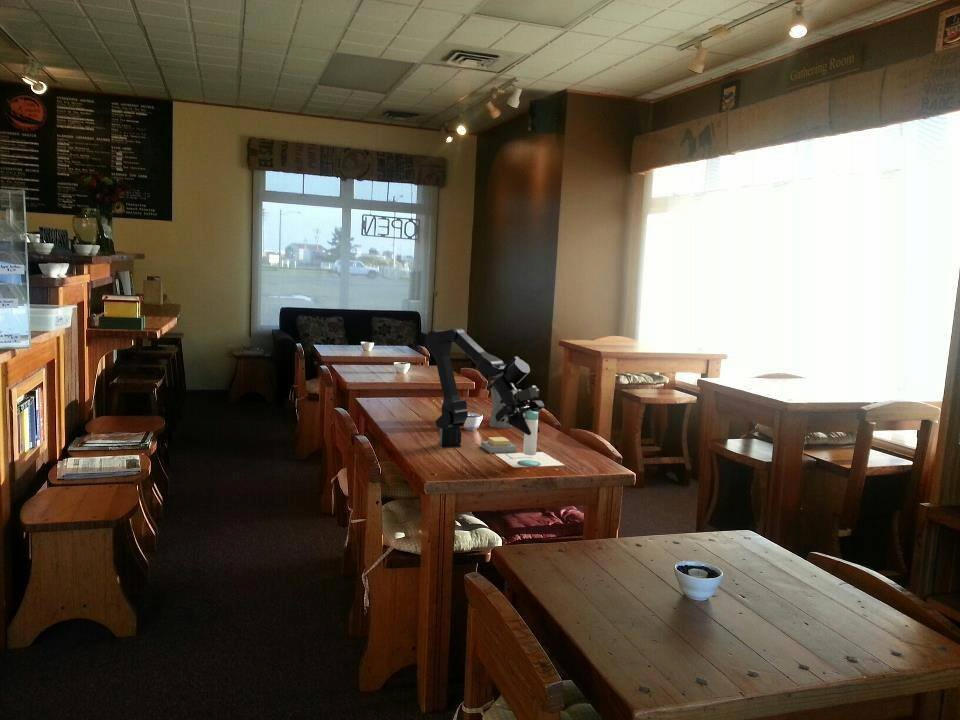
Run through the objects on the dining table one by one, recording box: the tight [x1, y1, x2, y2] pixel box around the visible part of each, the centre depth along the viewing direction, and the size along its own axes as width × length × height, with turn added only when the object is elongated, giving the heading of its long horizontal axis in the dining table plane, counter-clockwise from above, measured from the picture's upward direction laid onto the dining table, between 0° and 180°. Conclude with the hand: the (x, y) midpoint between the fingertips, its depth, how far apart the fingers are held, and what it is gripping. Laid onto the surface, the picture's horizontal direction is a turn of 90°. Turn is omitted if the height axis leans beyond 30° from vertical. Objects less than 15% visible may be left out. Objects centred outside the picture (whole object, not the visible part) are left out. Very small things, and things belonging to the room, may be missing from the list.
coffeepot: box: [488, 389, 513, 429], centre depth 294 cm, size 15×9×18 cm, turn 147°
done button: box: [487, 436, 511, 446], centre depth 252 cm, size 5×5×2 cm
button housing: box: [480, 440, 517, 454], centre depth 253 cm, size 9×9×2 cm
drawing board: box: [494, 451, 565, 468], centre depth 241 cm, size 18×18×1 cm
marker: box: [522, 411, 539, 455], centre depth 235 cm, size 4×4×13 cm
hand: (534, 433), depth 234 cm, fingers closed on marker, 4 cm apart
